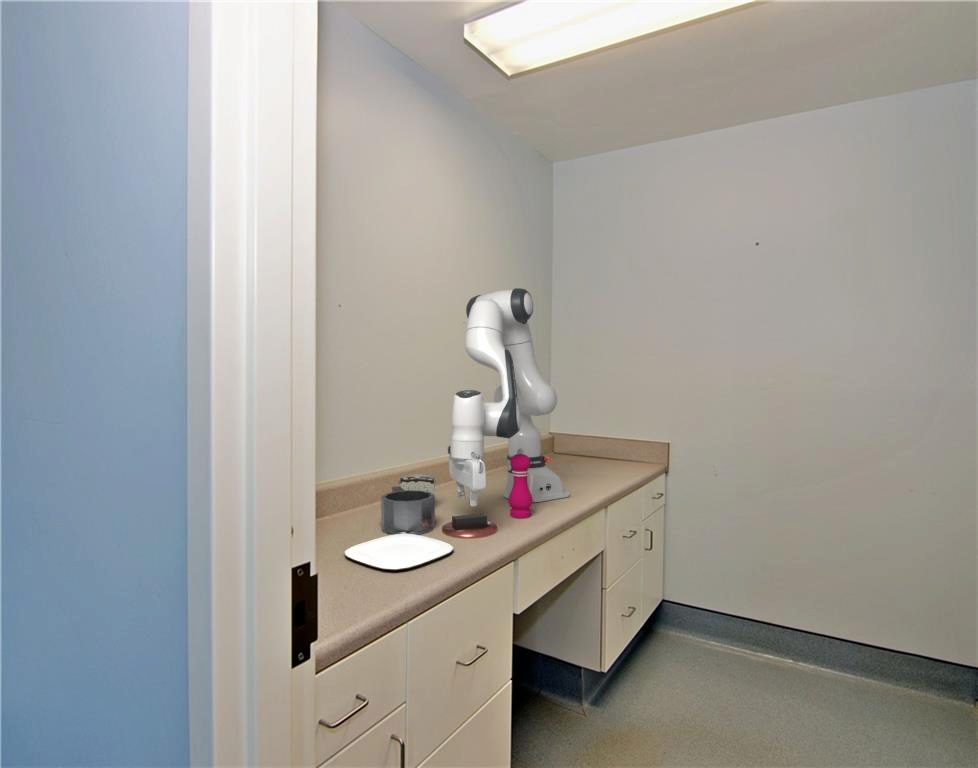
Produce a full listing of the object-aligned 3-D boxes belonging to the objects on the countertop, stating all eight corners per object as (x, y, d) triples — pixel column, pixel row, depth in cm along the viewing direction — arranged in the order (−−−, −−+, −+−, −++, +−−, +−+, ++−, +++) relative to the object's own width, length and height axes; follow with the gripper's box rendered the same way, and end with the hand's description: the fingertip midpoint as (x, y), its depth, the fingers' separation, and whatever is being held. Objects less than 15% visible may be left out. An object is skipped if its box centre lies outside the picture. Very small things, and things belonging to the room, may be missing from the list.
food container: (440, 505, 179) (440, 474, 178) (436, 510, 173) (436, 477, 172) (402, 504, 180) (402, 473, 180) (397, 509, 174) (397, 477, 174)
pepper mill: (515, 511, 170) (515, 446, 170) (536, 514, 166) (536, 448, 166) (503, 516, 164) (503, 449, 163) (525, 520, 160) (525, 451, 160)
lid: (485, 521, 160) (485, 507, 160) (506, 536, 146) (506, 520, 146) (435, 527, 155) (435, 512, 155) (451, 542, 141) (451, 526, 141)
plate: (403, 536, 147) (403, 530, 147) (464, 553, 133) (464, 546, 133) (333, 558, 130) (333, 551, 130) (395, 580, 116) (394, 572, 116)
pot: (419, 512, 169) (418, 483, 169) (440, 532, 149) (440, 499, 148) (372, 517, 164) (372, 487, 164) (388, 538, 143) (387, 503, 143)
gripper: (492, 455, 141) (491, 509, 142) (466, 445, 161) (465, 493, 161) (469, 456, 139) (468, 511, 139) (445, 446, 158) (444, 495, 158)
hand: (466, 501), depth 150 cm, fingers open, 8 cm apart
